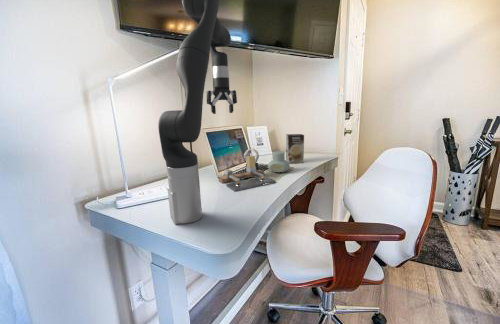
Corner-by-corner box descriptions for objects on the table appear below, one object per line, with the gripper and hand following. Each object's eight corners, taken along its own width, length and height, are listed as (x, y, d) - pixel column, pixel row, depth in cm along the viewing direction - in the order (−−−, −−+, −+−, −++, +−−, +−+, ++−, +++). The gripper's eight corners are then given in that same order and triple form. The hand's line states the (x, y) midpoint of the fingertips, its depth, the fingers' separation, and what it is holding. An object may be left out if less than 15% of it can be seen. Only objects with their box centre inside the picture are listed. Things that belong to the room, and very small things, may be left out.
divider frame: (230, 189, 107) (230, 177, 106) (218, 181, 118) (218, 170, 117) (274, 180, 117) (274, 169, 116) (259, 173, 128) (259, 163, 127)
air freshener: (290, 169, 133) (290, 150, 131) (288, 174, 126) (288, 154, 123) (270, 169, 137) (269, 150, 134) (266, 173, 129) (266, 153, 127)
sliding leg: (260, 179, 113) (259, 160, 111) (246, 173, 124) (245, 155, 122) (266, 178, 115) (265, 159, 113) (251, 172, 126) (251, 155, 124)
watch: (248, 167, 142) (247, 147, 139) (261, 168, 137) (260, 148, 135) (242, 169, 137) (241, 149, 134) (255, 171, 133) (255, 150, 130)
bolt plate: (234, 191, 104) (234, 188, 103) (226, 186, 111) (226, 183, 110) (275, 182, 113) (275, 180, 113) (265, 178, 120) (265, 176, 120)
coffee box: (288, 163, 146) (287, 135, 142) (285, 161, 152) (285, 134, 149) (303, 163, 146) (304, 135, 143) (301, 160, 153) (301, 133, 149)
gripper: (208, 76, 111) (211, 114, 115) (238, 76, 117) (239, 112, 121) (203, 77, 117) (205, 114, 121) (231, 78, 124) (233, 112, 128)
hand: (222, 113), depth 121 cm, fingers open, 8 cm apart
